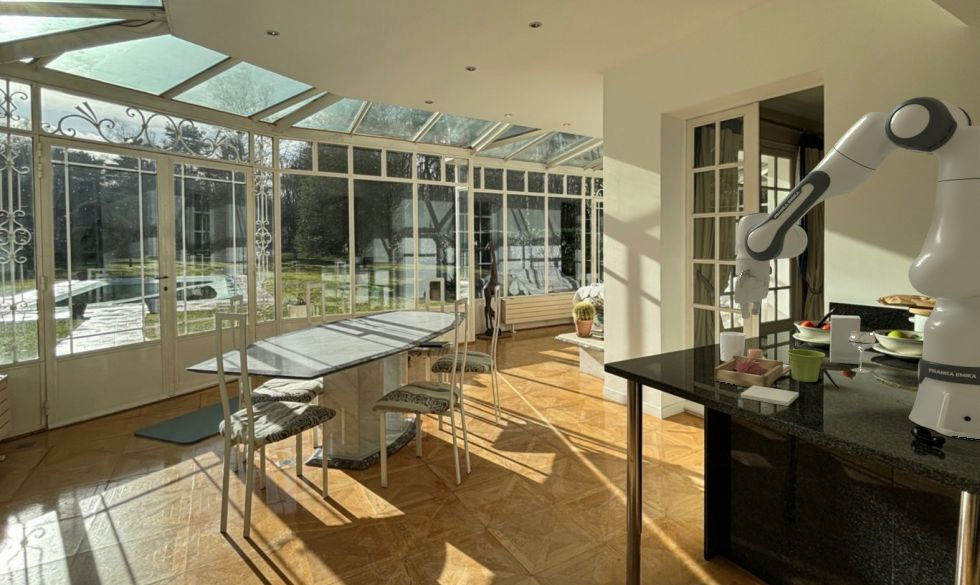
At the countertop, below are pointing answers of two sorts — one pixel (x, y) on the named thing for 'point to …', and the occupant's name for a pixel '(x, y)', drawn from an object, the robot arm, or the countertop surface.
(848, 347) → the skincare box
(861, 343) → the wineglass
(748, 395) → the tile
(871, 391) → the countertop surface
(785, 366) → the lid
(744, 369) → the flower
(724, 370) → the open wooden box
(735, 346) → the white cup
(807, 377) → the plant pot
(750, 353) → the tan rounded block
